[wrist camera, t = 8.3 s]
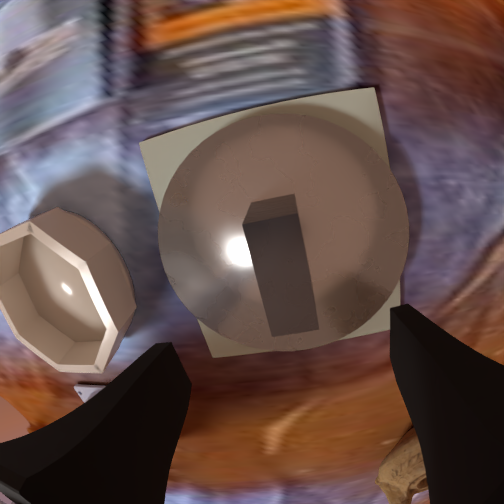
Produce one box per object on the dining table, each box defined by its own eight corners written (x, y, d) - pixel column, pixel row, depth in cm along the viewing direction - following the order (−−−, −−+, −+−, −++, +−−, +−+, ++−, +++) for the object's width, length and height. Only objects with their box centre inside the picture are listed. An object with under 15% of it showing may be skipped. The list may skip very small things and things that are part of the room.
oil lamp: (503, 391, 23) (531, 442, 16) (413, 466, 29) (424, 516, 22) (455, 367, 22) (488, 433, 15) (352, 455, 28) (358, 516, 21)
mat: (398, 323, 21) (400, 327, 20) (213, 354, 23) (212, 357, 23) (372, 88, 15) (374, 87, 15) (141, 142, 18) (138, 142, 17)
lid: (406, 320, 20) (429, 366, 16) (204, 353, 23) (188, 401, 18) (384, 95, 15) (418, 86, 10) (134, 153, 18) (89, 165, 13)
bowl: (158, 339, 23) (140, 373, 20) (57, 345, 25) (36, 370, 22) (100, 189, 19) (65, 205, 15) (4, 230, 21) (-27, 247, 18)
